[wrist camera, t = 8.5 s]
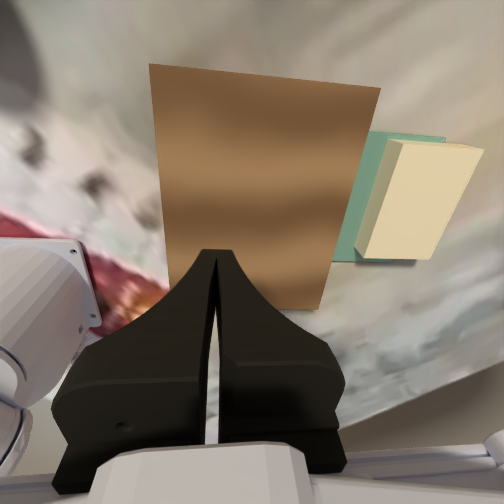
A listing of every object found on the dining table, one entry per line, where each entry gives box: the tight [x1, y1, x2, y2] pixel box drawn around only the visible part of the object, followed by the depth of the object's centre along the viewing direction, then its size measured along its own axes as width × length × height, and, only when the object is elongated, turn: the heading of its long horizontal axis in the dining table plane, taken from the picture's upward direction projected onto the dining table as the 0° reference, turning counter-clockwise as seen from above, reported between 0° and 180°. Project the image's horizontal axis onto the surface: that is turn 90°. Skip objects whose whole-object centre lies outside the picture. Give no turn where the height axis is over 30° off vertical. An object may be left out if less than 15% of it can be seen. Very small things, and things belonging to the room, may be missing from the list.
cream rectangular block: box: [354, 139, 484, 259], centre depth 21 cm, size 9×6×2 cm, turn 175°
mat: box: [332, 131, 446, 262], centre depth 22 cm, size 11×8×1 cm
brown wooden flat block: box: [149, 64, 381, 310], centre depth 20 cm, size 16×12×4 cm
